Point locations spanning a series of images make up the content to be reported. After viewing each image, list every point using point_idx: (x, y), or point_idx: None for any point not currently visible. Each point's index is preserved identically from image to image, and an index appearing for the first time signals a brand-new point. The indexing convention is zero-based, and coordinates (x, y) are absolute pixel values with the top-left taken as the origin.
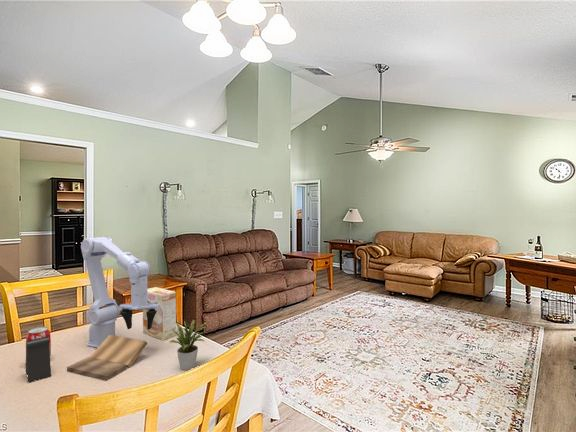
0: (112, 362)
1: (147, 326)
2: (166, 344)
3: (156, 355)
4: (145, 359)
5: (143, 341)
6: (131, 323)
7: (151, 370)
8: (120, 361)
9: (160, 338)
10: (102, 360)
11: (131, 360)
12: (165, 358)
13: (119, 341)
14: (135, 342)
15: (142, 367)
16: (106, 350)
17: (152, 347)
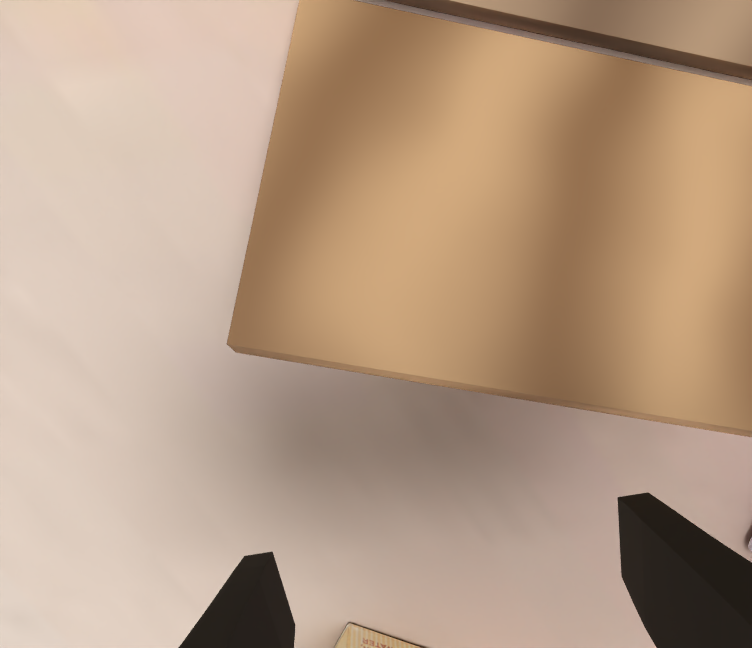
0: (523, 6)
1: (253, 587)
2: None
3: (202, 345)
4: None
5: (265, 336)
6: (662, 642)
7: (6, 9)
8: (432, 38)
9: (381, 641)
10: (683, 38)
11: (290, 58)
12: (63, 299)
13: (667, 338)
14: (394, 320)
15: (158, 62)
16: (749, 200)
17: (356, 489)
